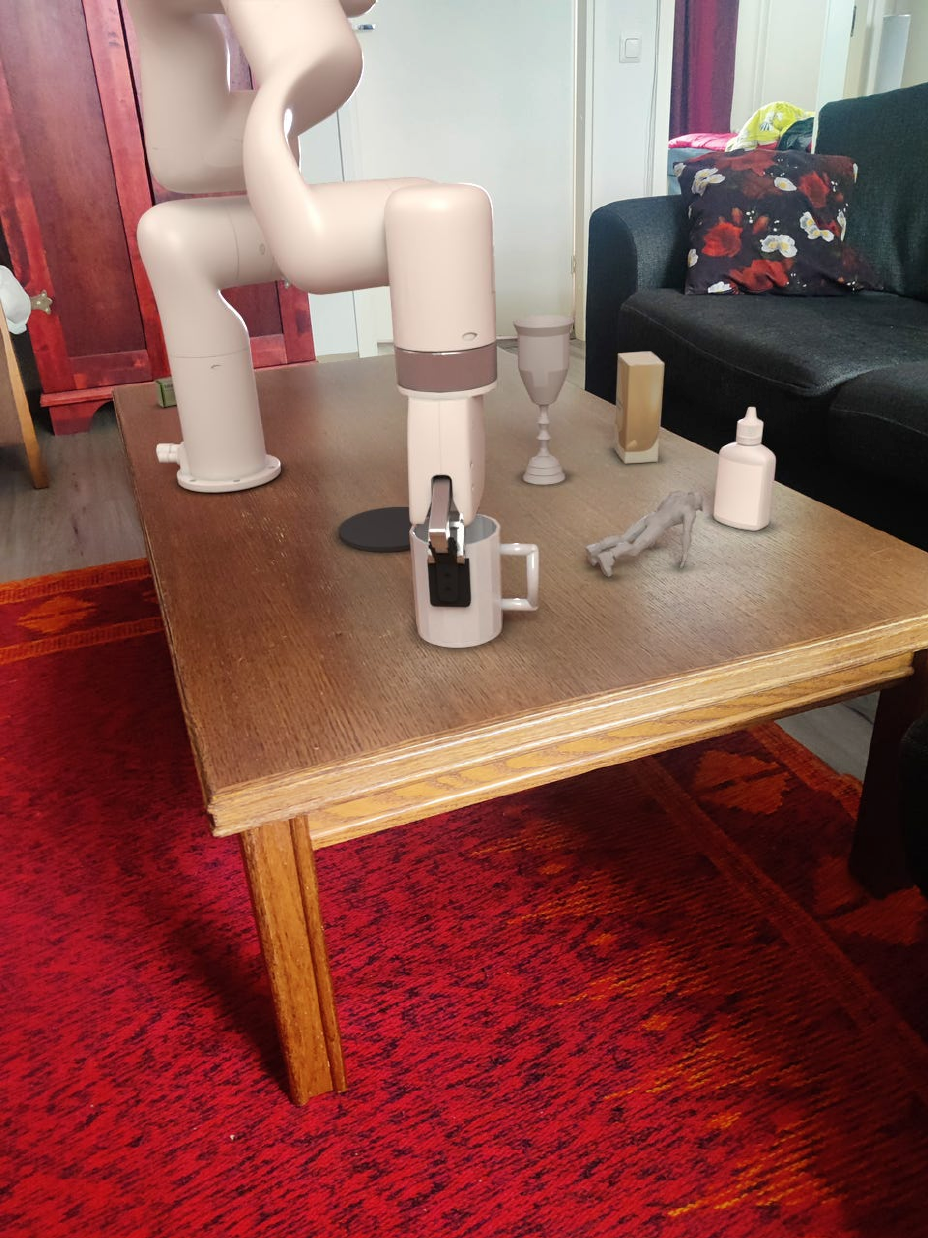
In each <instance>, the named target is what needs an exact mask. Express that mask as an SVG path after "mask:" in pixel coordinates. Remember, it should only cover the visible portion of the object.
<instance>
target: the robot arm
mask: <svg viewBox="0 0 928 1238" xmlns="http://www.w3.org/2000/svg"><path fill="white" fill-rule="evenodd" d="M124 2H125V4H126V8H127V10H128V12H129V13H128V14H129V16H130V19H131V22H132V24H133V28H134V31H135V36H136V39H137V40H136V41H137V47H138V54H139V55H138V56H139V73H140V82H141V83H140V85H141V86H140V87H141V99H142V101H141V102H142V113H143V126H144V127H143V129H144V139H145V149H146V153H147V154H146V156H147V162H148V165H149V168H150V172H151V174H152V176H153V178H154V179H155V181H156V182H157V183H158V184H159V185H160V186H161V187H162V188H163V189H166V190H168V191H169V192H173V193H177V194H178V193H179V194H188V195H189V194H192V195H194V194H195V195H197V194H214V193H227V192H239V191H246V194H241V195H229V196H216V197H215V196H211V197H209V196H208V197H197V198H184V199H175V200H170V201H164V202H162V203H161V202H160V203H158V204H155V205H153V206H152V207H150V208H149V209H147V210H146V211H145V212H144V213H143V214H142V215H141V217H140V219H139V220H138V224H137V227H136V241H137V247H138V251H139V255H140V258H141V261H142V263H143V266H144V269H145V272H146V275H147V278H148V281H149V284H150V287H151V290H152V292H153V297H154V300H155V303H156V307H157V311H158V315H159V319H160V323H161V328H162V333H163V339H164V343H165V349H166V354H167V359H168V365H169V369H170V370H169V371H170V375H171V376H170V377H172V381H173V387H174V392H175V397H176V403H177V404H176V406H177V407H176V408H177V412H178V418H179V423H180V429H181V435H182V439H183V440H182V441H181V442H180V443H179V444H176V443H171V442H170V443H157V445H156V449H155V451H156V452H155V454H156V456H157V460H158V462H159V464H177V465H178V466H179V467H180V468H179V469H178V471H177V472H176V478H177V484H178V485H179V486H180V487H182V488H184V489H185V490H189V491H191V492H196V493H208V494H209V493H214V494H217V493H228V492H229V493H230V492H238V491H242V490H248V489H251V488H256V487H259V486H262V485H264V484H267V483H269V482H270V481H273V480H274V479H276V478H277V477H278V476H279V475H280V474H281V471H282V468H281V466H282V465H281V462H280V460H279V459H278V458H277V457H276V456H273V455H271V454H267V451H266V446H265V437H264V430H263V425H262V417H261V410H260V404H259V396H258V390H257V389H258V388H257V383H256V375H255V369H254V362H253V355H252V347H251V341H250V335H249V330H248V327H247V325H246V323H245V321H244V319H243V317H242V316H241V315H240V314H239V312H238V311H237V310H236V309H235V308H234V307H233V306H232V305H231V304H230V303H229V302H228V301H227V300H226V299H225V298H224V296H223V295H222V293H221V291H222V290H226V289H231V288H235V287H243V286H249V285H251V286H252V285H258V284H264V283H270V282H275V281H279V280H282V279H284V278H286V279H287V280H288V282H290V284H291V285H292V286H293V287H295V288H297V289H298V290H300V291H302V292H304V293H306V294H310V295H318V296H325V295H333V294H339V293H347V292H353V291H354V292H355V291H360V290H361V291H362V290H369V289H375V288H382V287H389V296H390V297H389V298H390V311H391V322H392V325H391V326H392V337H393V346H394V347H393V349H394V362H395V374H396V389H397V392H398V393H399V394H400V395H403V396H405V397H408V398H407V399H408V400H407V419H406V426H407V427H406V441H407V442H406V450H407V451H406V452H407V480H408V481H407V483H408V507H409V516H410V522H411V523H412V525H414V526H415V527H419V526H420V524H424V522H425V520H426V518H427V516H428V513H429V524H428V526H429V527H428V560H427V564H428V579H429V594H430V604H431V605H432V606H434V607H469V606H470V603H471V585H470V563H469V558H465V548H466V527H467V526H469V525H470V524H471V523H472V522H473V521H474V519H475V516H476V513H477V514H480V504H481V500H482V497H483V495H484V490H485V482H486V481H485V480H486V479H485V478H486V477H485V476H486V429H485V428H486V427H485V406H484V394H485V395H486V394H488V393H490V392H491V391H494V390H496V389H497V387H498V384H499V380H498V379H499V378H498V345H497V344H498V342H497V307H496V303H497V302H496V273H495V272H496V269H495V236H494V235H495V233H494V232H495V231H494V210H493V209H494V208H493V203H492V199H491V196H490V195H489V193H488V191H487V190H486V189H484V188H483V187H482V186H480V185H477V184H475V183H467V182H443V183H442V182H441V183H440V182H438V181H435V180H433V179H429V178H425V177H419V176H404V177H390V178H389V177H388V178H377V179H376V178H374V179H373V178H372V179H361V180H344V181H331V182H320V183H313V184H312V183H311V184H310V183H309V182H308V181H307V180H306V179H305V177H304V175H303V173H302V171H301V169H302V168H301V167H302V166H301V155H302V154H301V143H300V137H299V136H301V135H302V134H304V133H305V132H307V131H309V130H310V129H313V127H315V126H317V125H318V124H320V123H322V122H324V121H325V120H327V119H329V118H330V117H331V116H333V115H334V114H335V113H337V112H338V111H339V110H340V109H341V108H342V107H344V106H345V105H346V104H347V103H348V102H349V100H350V99H351V98H352V97H353V95H354V94H355V93H356V91H357V90H358V87H359V85H360V83H361V81H362V77H363V74H364V70H365V69H364V68H365V67H364V66H365V59H364V53H363V49H362V46H361V43H360V41H359V39H358V38H357V35H356V33H355V31H354V29H353V26H352V25H351V23H350V21H349V19H355V18H360V17H362V16H364V15H367V14H368V13H369V12H370V11H371V10H372V9H373V8H374V7H375V5H376V4H377V3H378V0H124ZM214 15H226V17H227V19H228V21H229V24H230V25H231V28H232V30H233V33H234V35H235V37H236V39H237V41H238V43H239V47H240V48H241V50H242V53H243V54H244V57H245V59H246V61H247V63H248V66H249V68H250V71H251V72H252V75H253V77H254V80H255V81H256V84H257V85H258V87H259V89H231V84H230V83H231V82H230V79H231V78H230V75H231V72H230V71H231V69H230V67H231V65H230V64H231V62H230V59H231V58H230V57H231V55H230V49H229V44H228V40H227V37H226V35H225V33H224V31H223V29H222V27H221V26H220V24H219V22H218V21H217V19H216V17H215V16H214ZM450 514H460V517H459V521H449V518H450ZM449 530H457V542H456V541H455V539H454V537H450V532H449ZM456 544H457V545H456Z"/></svg>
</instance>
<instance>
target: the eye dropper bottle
mask: <svg viewBox="0 0 928 1238" xmlns="http://www.w3.org/2000/svg"><path fill="white" fill-rule="evenodd" d="M763 429H764V421H762V419H759V418H758V417H757V410H756V407H755V406H749V407H748V408H747V410H746V414H745V417H744V418H742V419H738V421H737V423H736V433H735V434H736V436H735V441H733V442H730V443H728V444H726V445H724V446H722V447H721V449H720V450H719V452H718V459H717V469H716V478H715V479H716V480H715V492H714V503H713V518H714V520H716V521H717V522H718V523H721V524H722V525H724V526H728V527H731V528H734V529H738V530H743V531H751V532H753V531H754V532H756V531H760V530H762V529H764V528H766V527H767V526H768V525H769V524H770V520H771V512H772V502H773V494H774V484H775V474H776V466H777V465H776V464H777V458H776V455H775V453H774V452H773V451H772V450H770V449H769V448H768V447H767V446H765V445H763V444H762V439H763Z"/></svg>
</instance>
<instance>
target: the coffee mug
mask: <svg viewBox="0 0 928 1238" xmlns="http://www.w3.org/2000/svg"><path fill="white" fill-rule="evenodd" d="M459 517H460V514H450V518H449V521H459ZM428 524H429V517H427V518H426V520H425V522H424V524H420V526H419V527H415V526H414V525H412V527H411V529H410V531H409V534H410V547H411V549H410V558H411V572H412V573H411V574H412V585H413V599H414V610H415V625H416V627H417V628H416V629H417V634H418V635H419V637H420V638H421V639H422V640H423V641H425V642H427V643H428V644H431V645H434V646H437V647H442V648H449V649H463V648H473V647H477V646H480V645H483V644H486V643H489V642H491V641H492V640H494V639H496V638H497V637H498V636H499V635H500V634H501V632H502V631H503V625H504V624H503V621H504V611H505V612H506V611H507V612H508V611H510V612H511V611H513V612H535V611H537V610H538V609H539V607H540V561H539V560H540V552H539V551H540V549H539V547H538V545H537V544H536V543H503V542H502V536H501V535H502V531H501V530H502V529H501V524H500V523H499V522H498V521H497V519H496V518H493V517H490V516H489V515H487V514H481V513H479V514H477V513H476V516H475V519H474V521H473V522H472V523H471V524H470V525H469V526H467V527H466V548H465V558H469V563H470V585H471V603H470V606H469V607H434V606H432V605H431V604H430V594H429V579H428V564H427V560H428V527H429V526H428ZM449 532H450V537H454V539H455V541H456V542H457V530H449ZM456 545H457V544H456ZM502 557H525V559H526V560H525V561H526V562H525V563H526V565H525V568H526V598H508V597H507V598H505V597H503V572H502V571H503V570H502V569H503V568H502V567H503V566H502Z"/></svg>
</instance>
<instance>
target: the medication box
mask: <svg viewBox="0 0 928 1238" xmlns="http://www.w3.org/2000/svg"><path fill="white" fill-rule="evenodd" d="M153 384H154V389H155V394H156V395H155V396H156V400H157V404H158V406H159V407H160V408H163V409H164V408H165V407H172V406H175V405H176V406H177V403H176V397H175V392H174V387H173V381H172V376H168V377H163V378H162V377H161V378H158V379H154V380H153Z"/></svg>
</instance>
